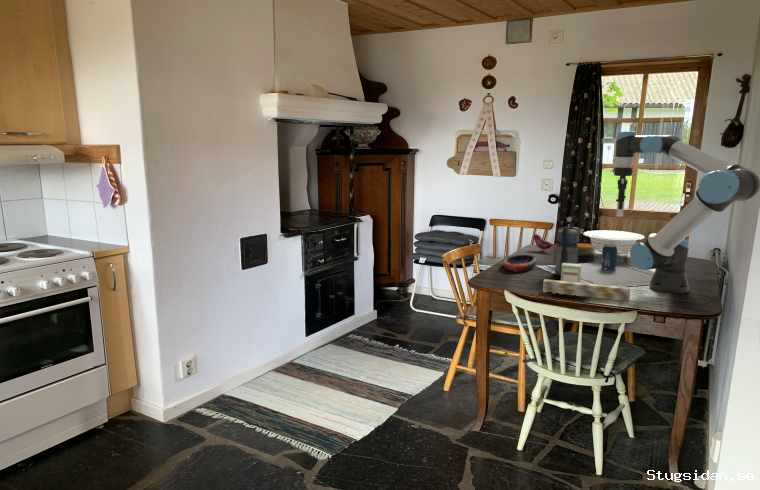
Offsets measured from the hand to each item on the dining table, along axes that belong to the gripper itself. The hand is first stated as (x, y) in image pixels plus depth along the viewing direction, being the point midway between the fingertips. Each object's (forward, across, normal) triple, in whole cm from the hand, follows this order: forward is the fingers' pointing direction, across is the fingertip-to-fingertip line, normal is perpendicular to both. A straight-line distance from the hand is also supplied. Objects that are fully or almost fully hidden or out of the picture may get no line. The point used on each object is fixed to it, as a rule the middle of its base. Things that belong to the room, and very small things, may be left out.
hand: (619, 214), depth 236 cm
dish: (+32, -14, -45) cm, 57 cm away
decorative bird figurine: (+32, -58, -38) cm, 76 cm away
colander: (+32, -59, -2) cm, 67 cm away
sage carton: (+32, +14, -18) cm, 39 cm away
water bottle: (+32, -33, -23) cm, 51 cm away
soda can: (+32, -29, -3) cm, 43 cm away
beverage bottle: (+32, -7, -22) cm, 39 cm away
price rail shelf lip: (+32, +27, -11) cm, 43 cm away
